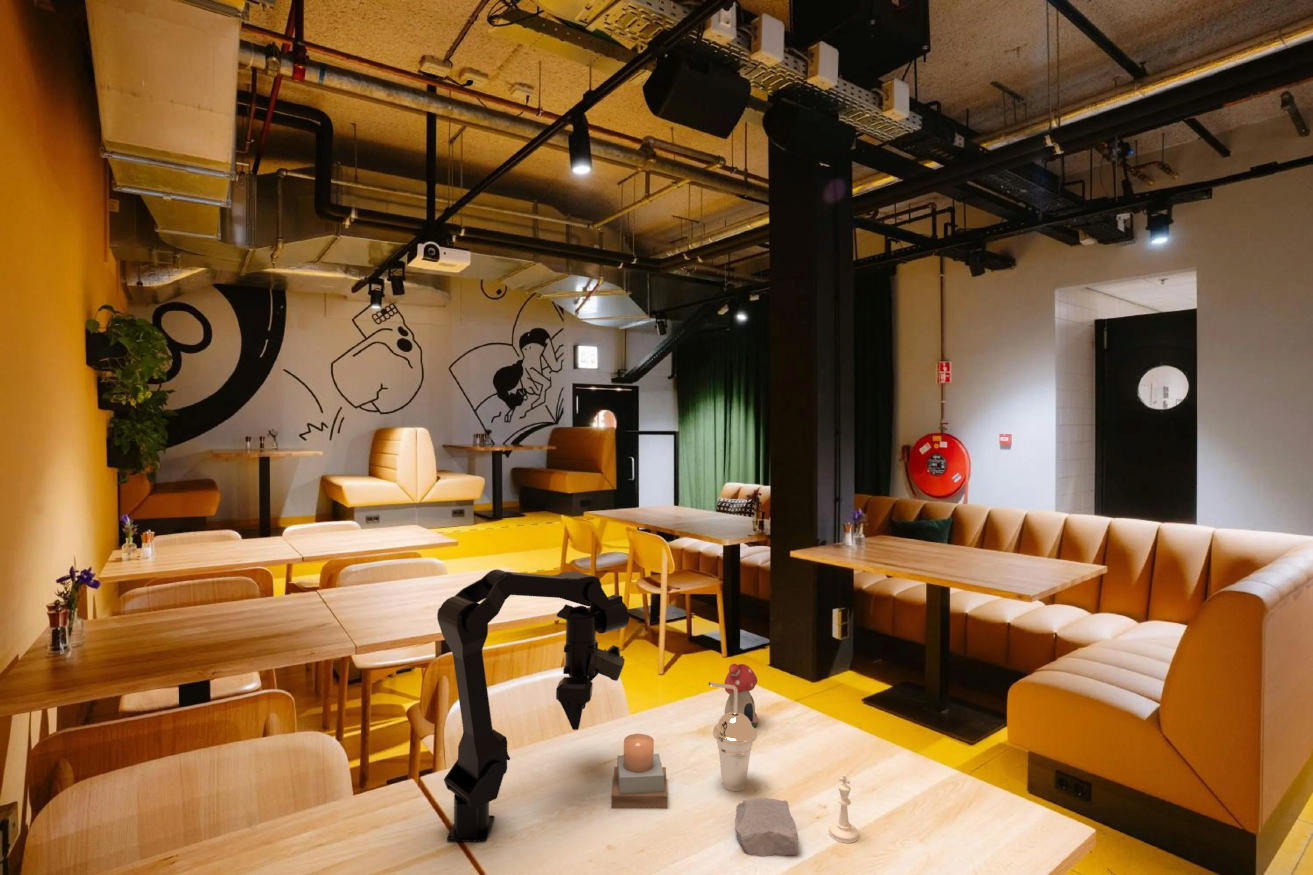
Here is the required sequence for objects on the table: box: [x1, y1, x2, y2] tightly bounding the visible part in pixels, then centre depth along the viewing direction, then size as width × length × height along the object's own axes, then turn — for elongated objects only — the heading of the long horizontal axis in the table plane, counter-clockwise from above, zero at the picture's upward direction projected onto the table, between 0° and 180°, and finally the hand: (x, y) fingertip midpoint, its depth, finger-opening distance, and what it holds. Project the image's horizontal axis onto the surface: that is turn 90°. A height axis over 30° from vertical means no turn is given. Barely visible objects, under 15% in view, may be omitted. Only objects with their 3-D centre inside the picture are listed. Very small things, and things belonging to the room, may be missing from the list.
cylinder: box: [623, 733, 655, 772], centre depth 123 cm, size 6×6×4 cm
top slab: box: [616, 753, 664, 794], centre depth 123 cm, size 8×8×3 cm
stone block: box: [734, 797, 799, 858], centre depth 111 cm, size 12×5×10 cm
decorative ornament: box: [723, 663, 759, 729], centre depth 151 cm, size 9×7×15 cm
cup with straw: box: [708, 681, 758, 792], centre depth 126 cm, size 8×9×20 cm
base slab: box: [611, 766, 668, 809], centre depth 123 cm, size 10×10×3 cm
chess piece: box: [828, 774, 860, 844], centre depth 111 cm, size 5×5×10 cm
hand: (579, 718), depth 127 cm, fingers open, 9 cm apart
